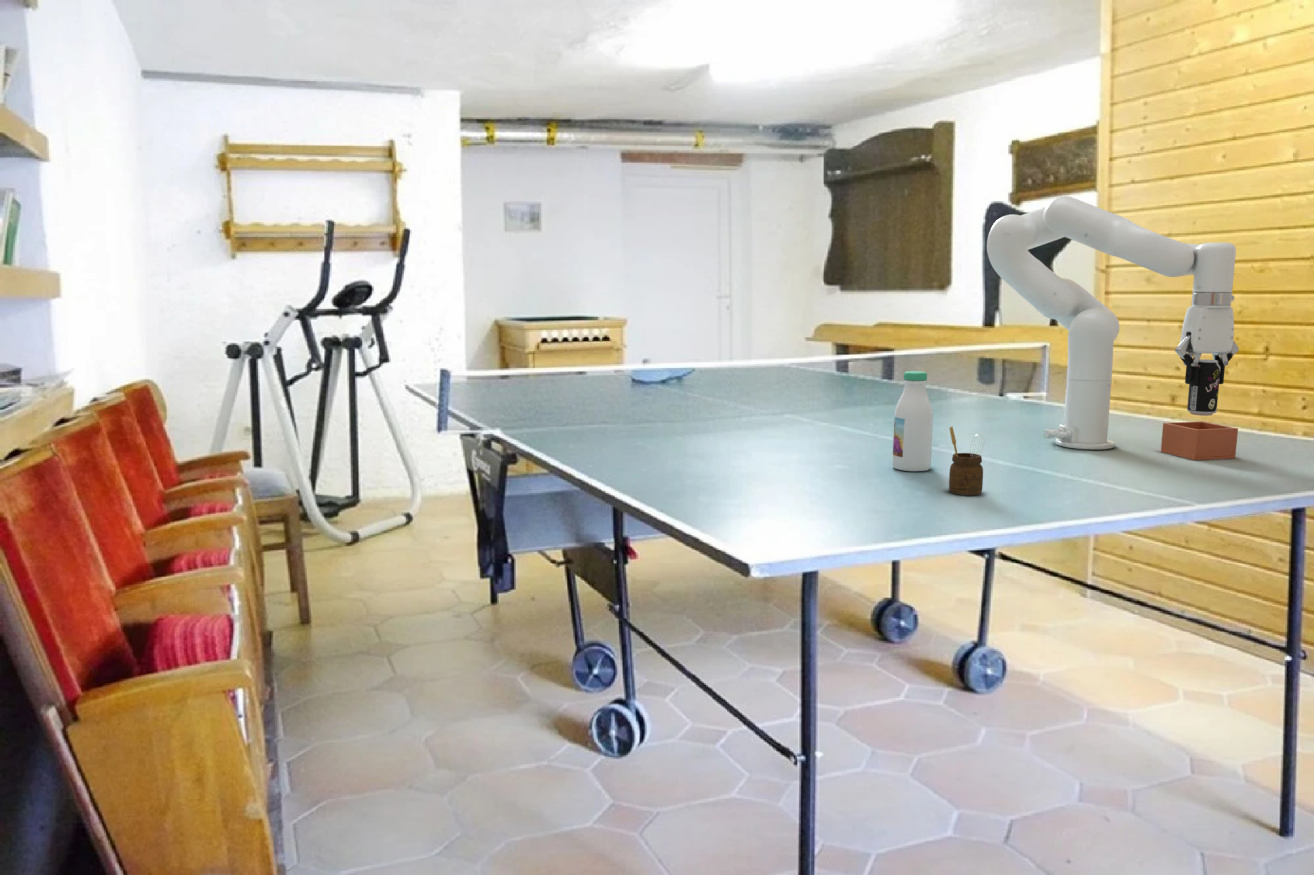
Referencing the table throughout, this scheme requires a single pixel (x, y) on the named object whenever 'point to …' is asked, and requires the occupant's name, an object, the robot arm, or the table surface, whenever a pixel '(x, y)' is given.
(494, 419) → the table surface
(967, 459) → the utensil holder
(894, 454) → the milk bottle
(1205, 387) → the beverage can
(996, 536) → the table surface
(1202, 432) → the bin
